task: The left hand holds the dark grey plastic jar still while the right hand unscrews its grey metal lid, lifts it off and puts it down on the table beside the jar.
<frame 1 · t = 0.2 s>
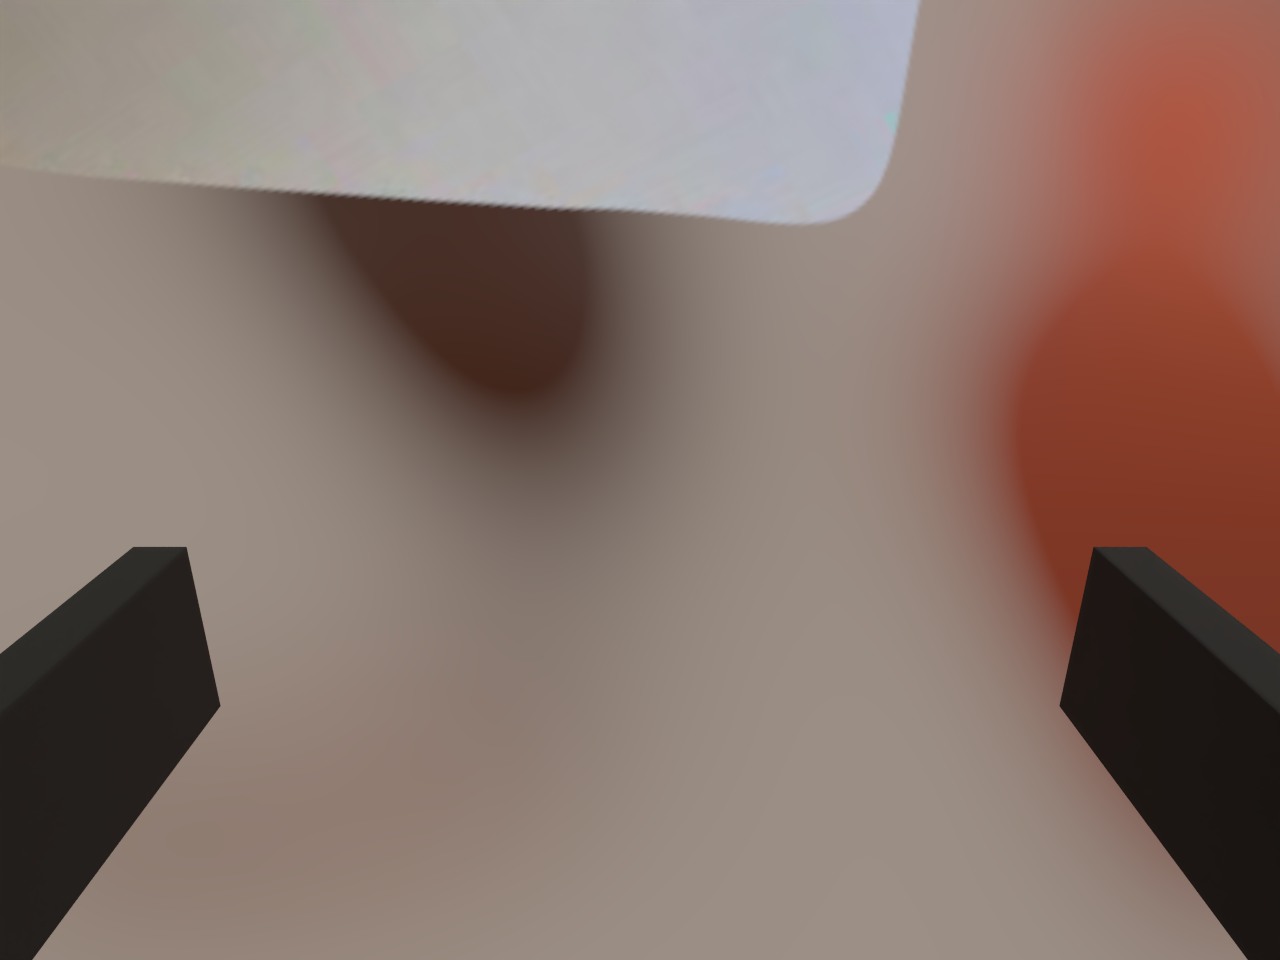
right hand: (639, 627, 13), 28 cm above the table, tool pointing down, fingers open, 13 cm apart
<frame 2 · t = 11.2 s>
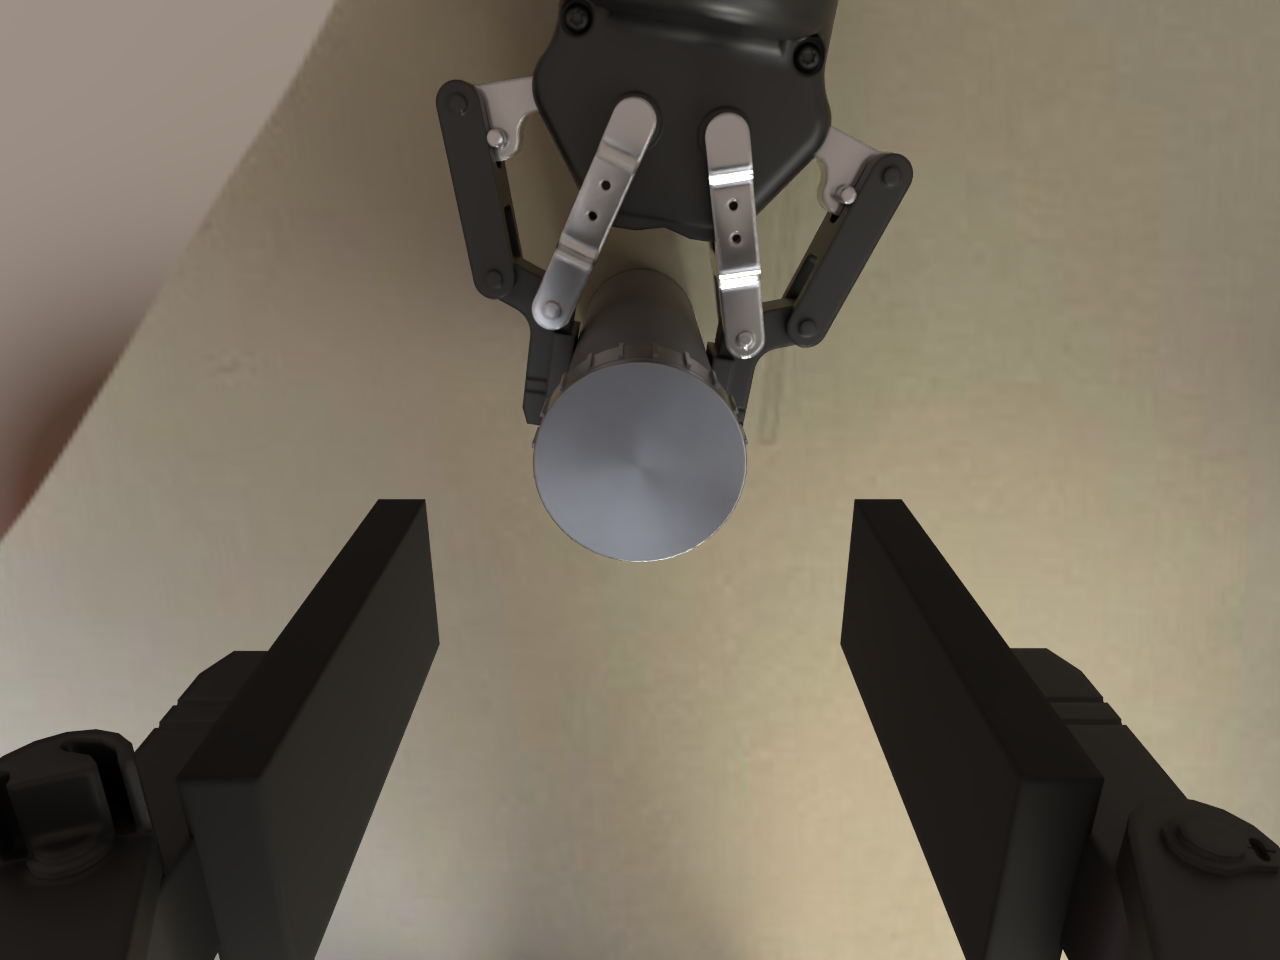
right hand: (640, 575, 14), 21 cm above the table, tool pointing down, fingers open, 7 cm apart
left hand: (628, 446, 28), fingers closed on jar, 4 cm apart
jar: (640, 324, 34), on the table, touching left hand
lid: (639, 461, 19), point 15 cm above the table, screwed on, not yet turned
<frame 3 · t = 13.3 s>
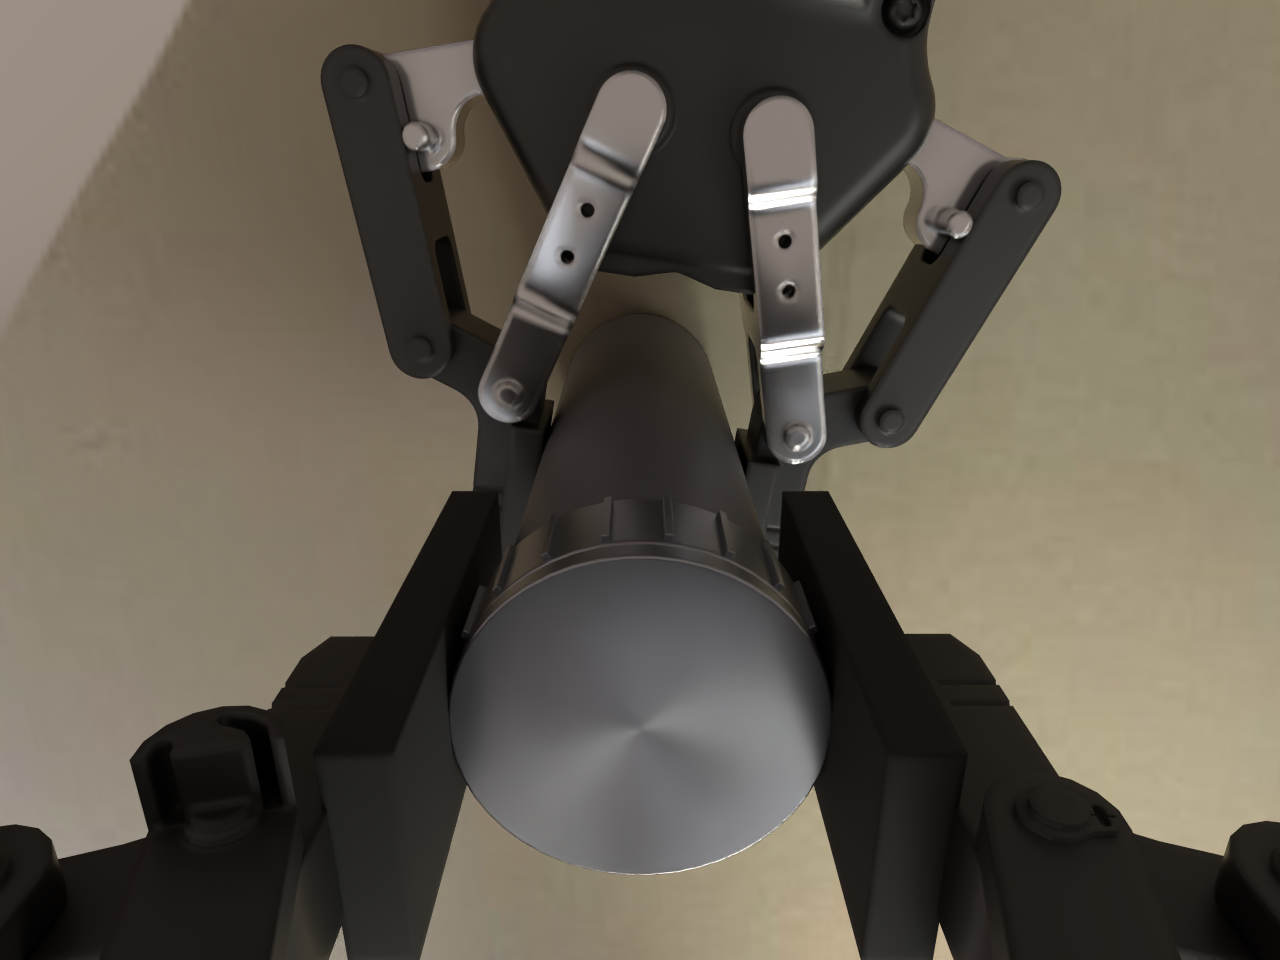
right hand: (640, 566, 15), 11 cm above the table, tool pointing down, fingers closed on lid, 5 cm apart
left hand: (623, 576, 20), fingers closed on jar, 4 cm apart
jar: (640, 386, 25), on the table, touching left hand
lid: (640, 711, 11), point 15 cm above the table, screwed on, not yet turned, touching right hand
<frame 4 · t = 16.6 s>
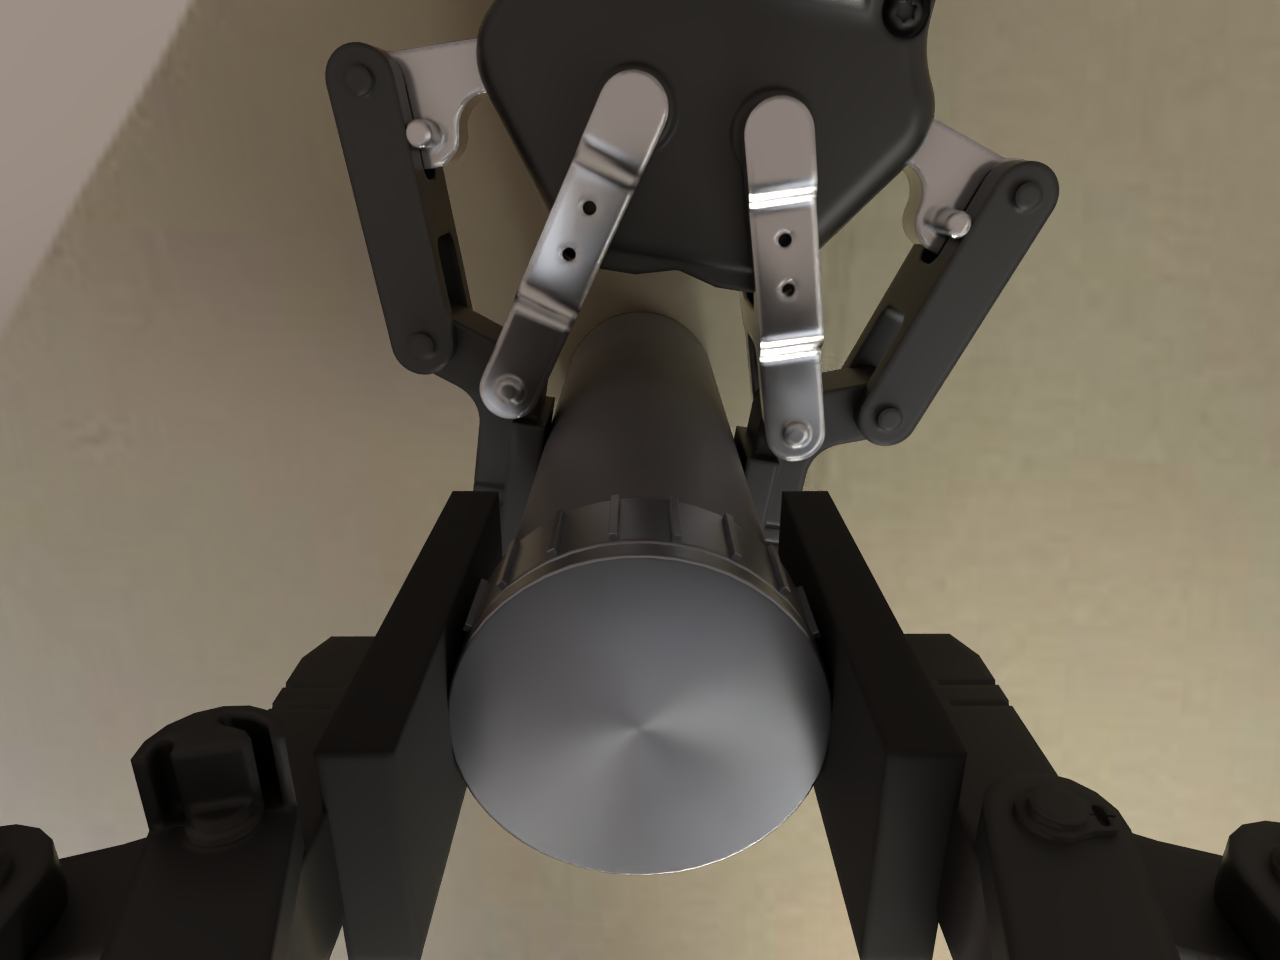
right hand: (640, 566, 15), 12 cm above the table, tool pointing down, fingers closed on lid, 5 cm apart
left hand: (623, 572, 20), fingers closed on jar, 4 cm apart
jar: (640, 384, 25), on the table, touching left hand
lid: (640, 711, 11), point 16 cm above the table, turned 106° so far, risen 0.2 cm, still on its thread, touching right hand
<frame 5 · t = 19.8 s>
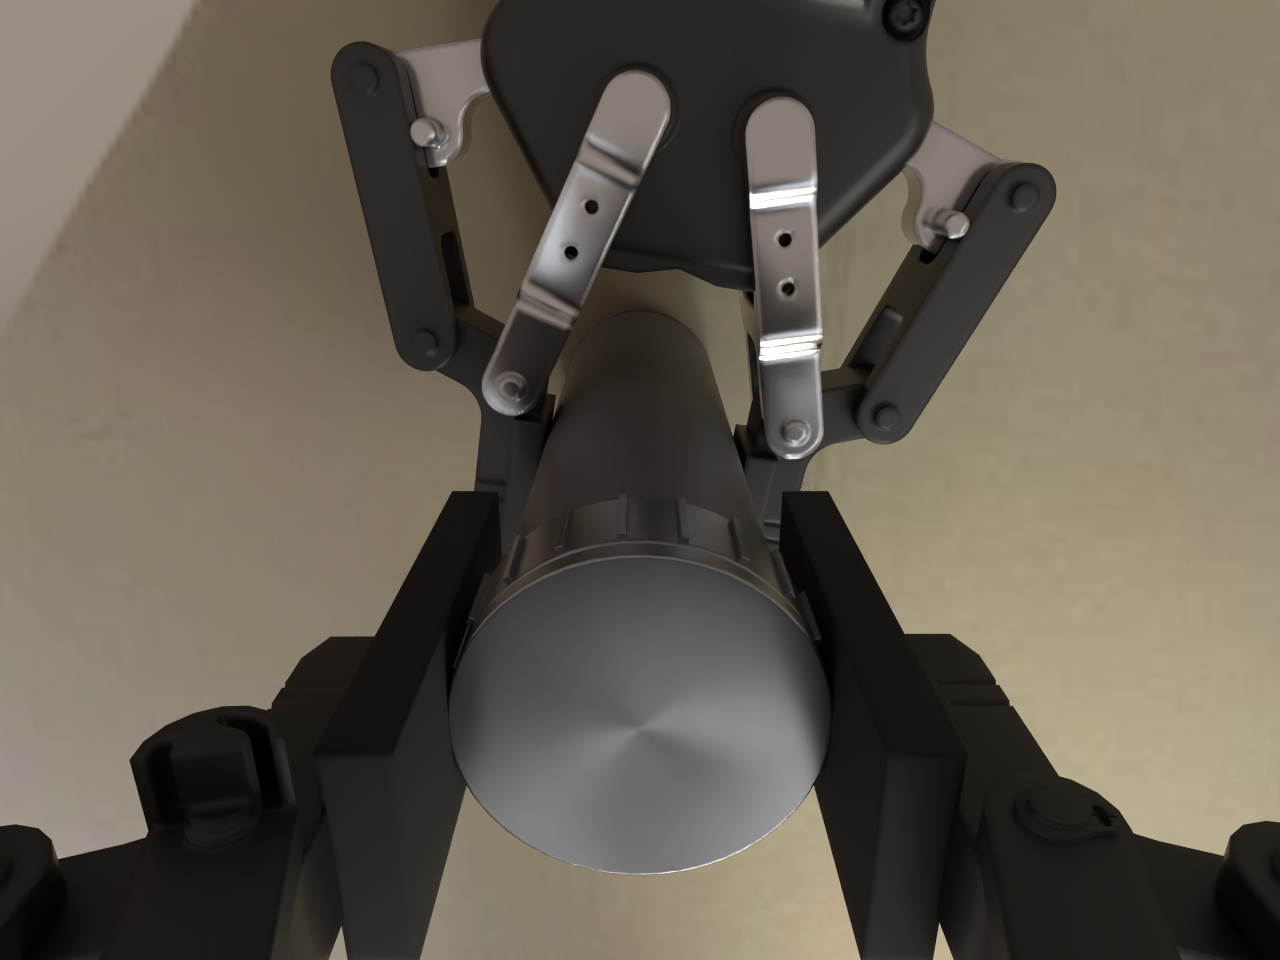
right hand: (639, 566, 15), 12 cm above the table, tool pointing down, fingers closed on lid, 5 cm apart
left hand: (622, 569, 20), fingers closed on jar, 4 cm apart
jar: (640, 382, 26), on the table, touching left hand
lid: (640, 711, 11), point 16 cm above the table, turned 212° so far, risen 0.3 cm, still on its thread, touching right hand
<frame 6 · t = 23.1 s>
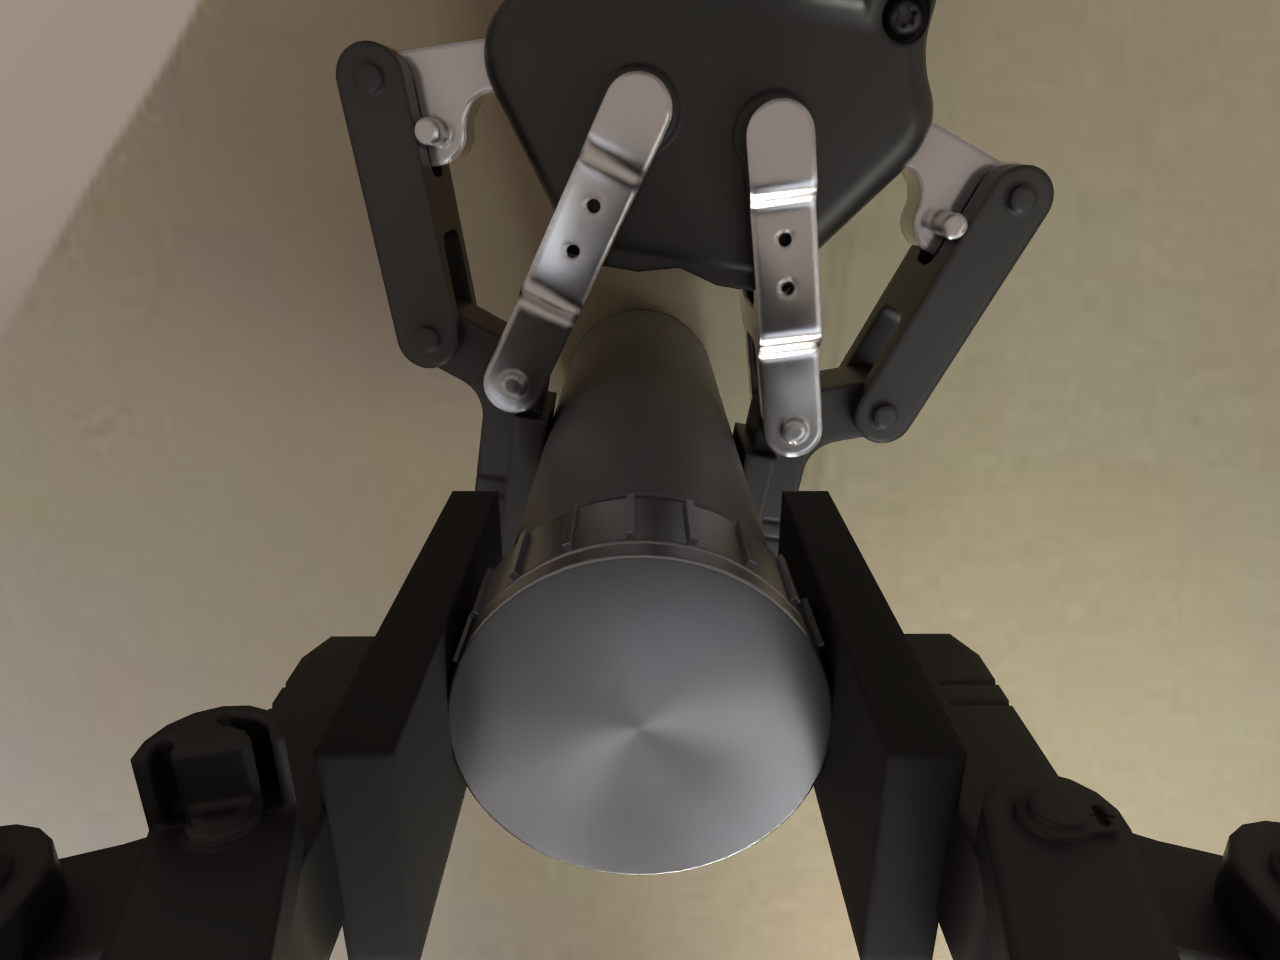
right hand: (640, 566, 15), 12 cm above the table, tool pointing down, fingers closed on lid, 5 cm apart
left hand: (622, 565, 20), fingers closed on jar, 4 cm apart
jar: (640, 381, 26), on the table, touching left hand
lid: (640, 711, 11), point 16 cm above the table, turned 318° so far, risen 0.5 cm, still on its thread, touching right hand
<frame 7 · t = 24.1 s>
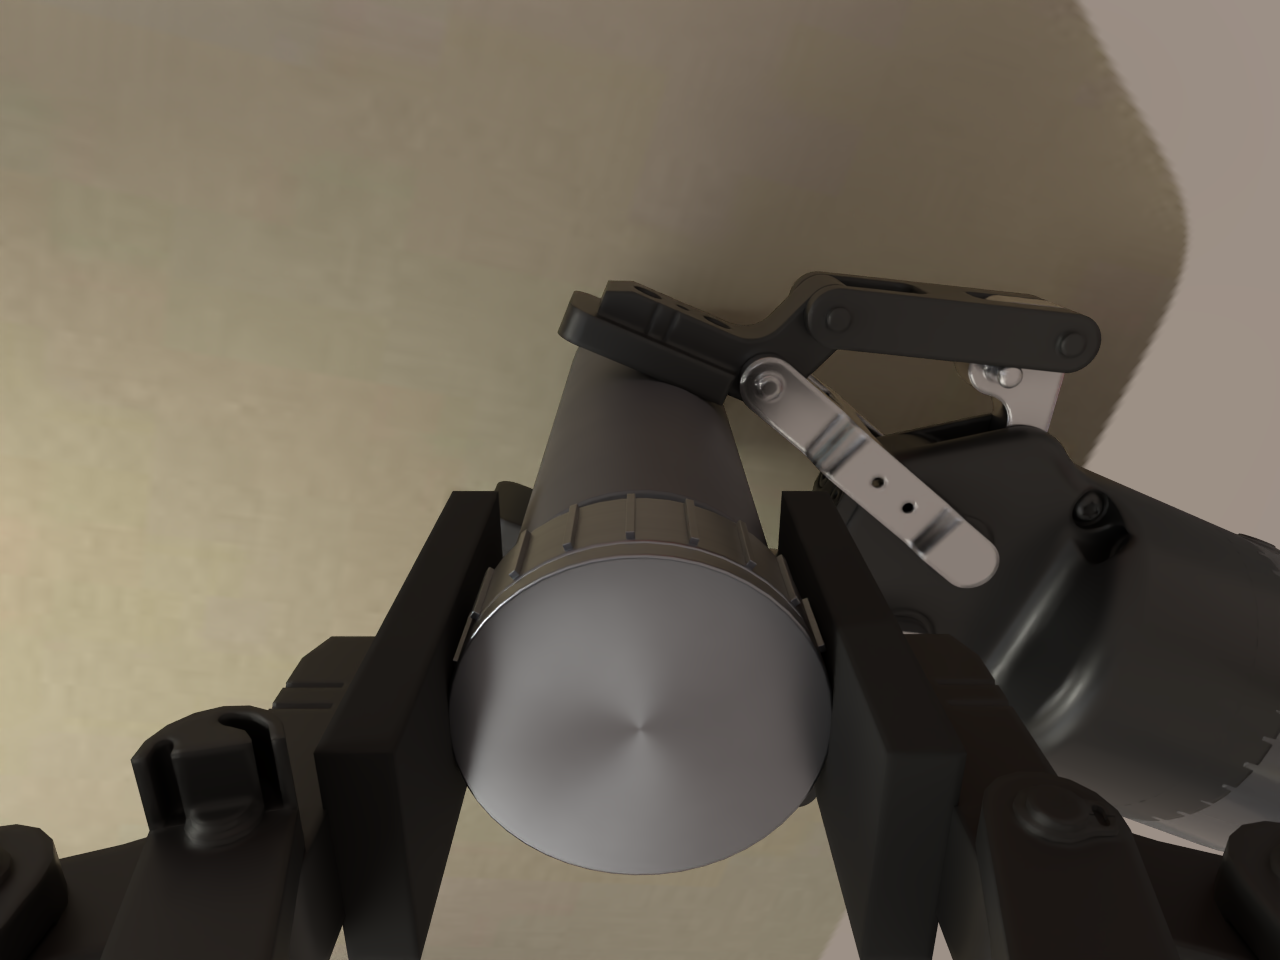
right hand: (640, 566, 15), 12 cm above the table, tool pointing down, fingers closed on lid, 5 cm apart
left hand: (529, 415, 19), fingers closed on jar, 4 cm apart
jar: (641, 381, 26), on the table, touching left hand
lid: (640, 711, 11), point 16 cm above the table, off its thread, touching right hand
when the right hand's fingers open (0 cm above the table, at t = 30.3 s): lid drops 3 cm, point 1 cm above the table.
when the left hand's fingers open (7 cm above the table, at t = 31.0 s): jar stays where it is, on the table.
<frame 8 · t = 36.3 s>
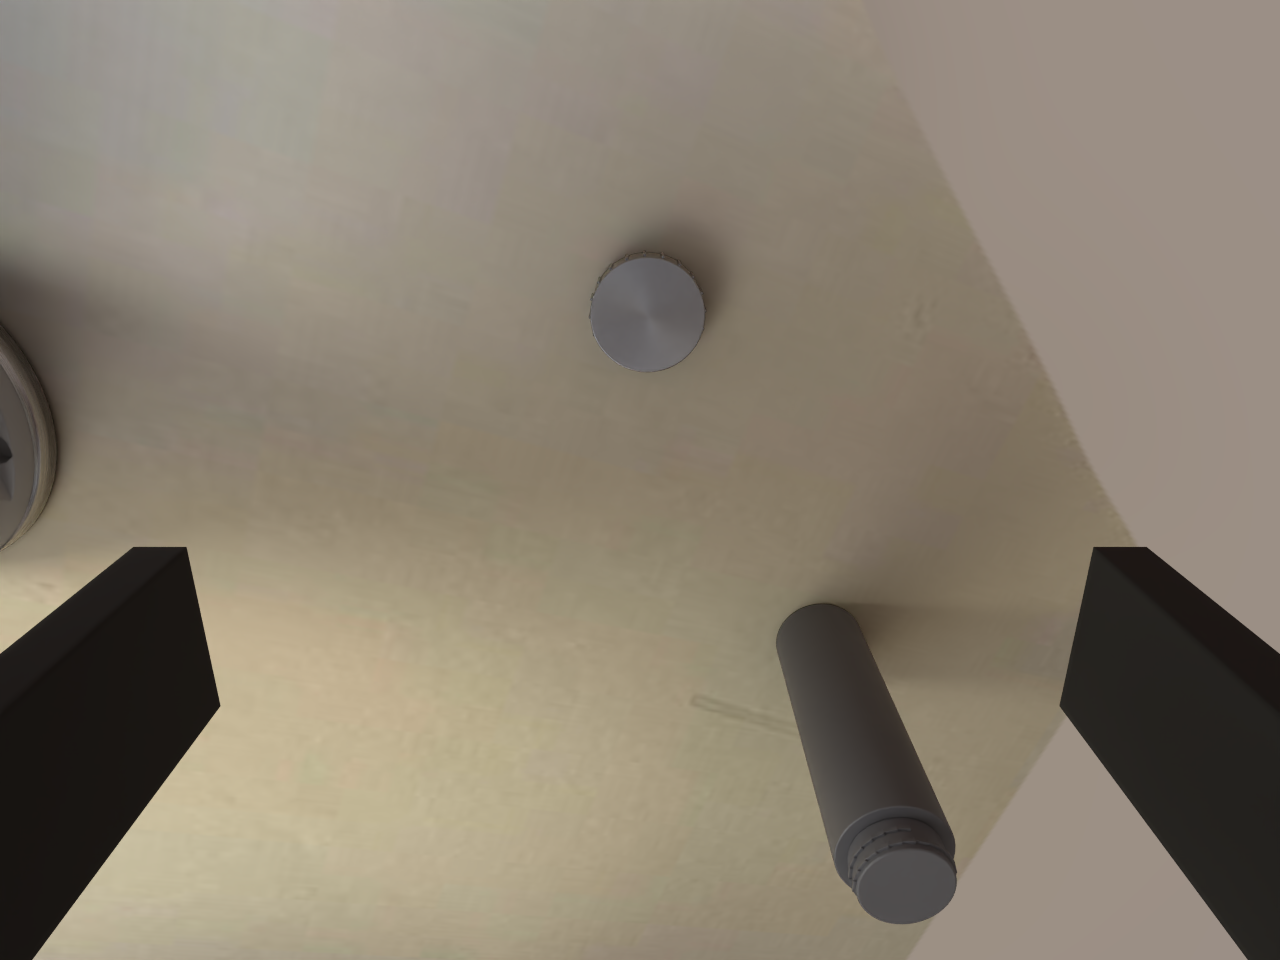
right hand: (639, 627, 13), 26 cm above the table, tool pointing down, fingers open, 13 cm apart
jar: (818, 640, 43), on the table
lid: (647, 314, 36), point 1 cm above the table, off its thread
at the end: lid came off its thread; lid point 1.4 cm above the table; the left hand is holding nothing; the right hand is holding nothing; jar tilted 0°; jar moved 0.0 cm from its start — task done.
